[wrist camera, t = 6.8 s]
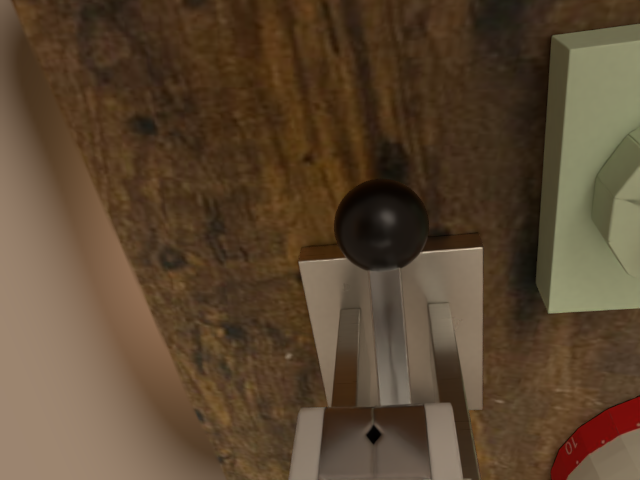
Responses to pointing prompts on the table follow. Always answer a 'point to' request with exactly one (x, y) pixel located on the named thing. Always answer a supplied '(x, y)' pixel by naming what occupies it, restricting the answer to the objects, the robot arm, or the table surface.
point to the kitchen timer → (603, 447)
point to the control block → (591, 173)
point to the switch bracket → (421, 326)
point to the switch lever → (384, 269)
